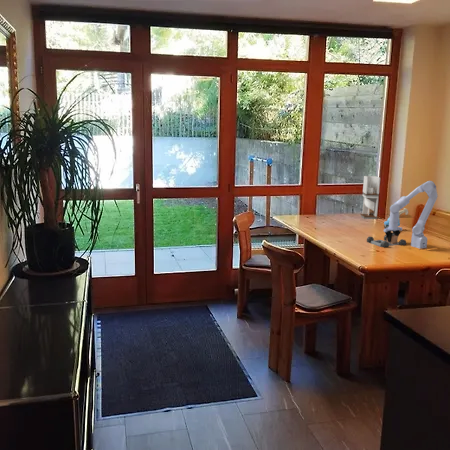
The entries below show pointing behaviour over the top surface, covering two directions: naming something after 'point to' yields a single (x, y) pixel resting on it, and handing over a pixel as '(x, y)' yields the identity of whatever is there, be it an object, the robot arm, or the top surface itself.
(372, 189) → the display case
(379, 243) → the chassis
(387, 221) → the toy excavator
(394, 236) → the block
